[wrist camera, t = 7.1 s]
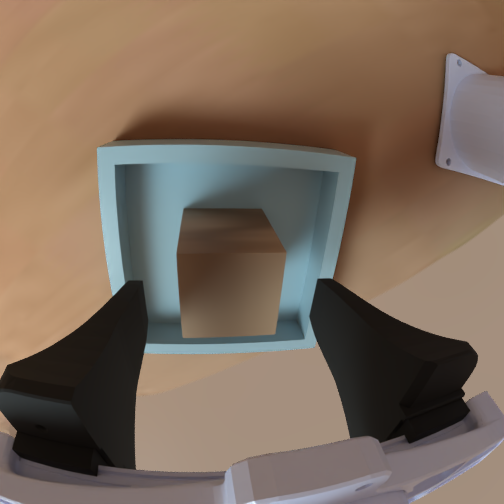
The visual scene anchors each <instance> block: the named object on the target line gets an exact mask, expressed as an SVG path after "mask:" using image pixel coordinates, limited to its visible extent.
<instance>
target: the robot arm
mask: <svg viewBox="0 0 504 504" xmlns="http://www.w3.org/2000/svg"><path fill="white" fill-rule="evenodd" d="M457 61H458V64H457ZM446 160H447V163H446ZM435 162H436V164H437V166H439V167H441V168H445V169H449V170H453V171H456V172H460V173H464V174H467V175H471V176H474V177H478V178H481V179H484V180H488V181H491V182H494V183H497V184H500V185H503V186H504V76H496V75H489V74H487V73H486V72H484V71H483V70H481V69H479V68H478V67H476V66H475V65H473V64H471V63H470V62H468V61H466V60H465V59H463V58H461V57H459V56H458V55H456V54H454V53H449V54H447V57H446V74H445V89H444V100H443V109H442V118H441V126H440V133H439V140H438V146H437V152H436V158H435ZM309 318H310V322H311V325H312V329H313V332H314V335H315V338H316V340H317V342H318V344H319V347H320V349H321V351H322V353H323V355H324V357H325V359H326V362H327V364H328V366H329V368H330V370H331V372H332V375H333V377H334V380H335V382H336V385H337V389H338V392H339V395H340V398H341V401H342V405H343V409H344V413H345V417H346V421H347V425H348V430H349V434H350V439H347V440H343V441H338V442H334V443H330V444H325V445H320V446H314V447H310V448H304V449H298V450H292V451H285V452H278V453H269V454H264V455H260V456H254V457H249V458H246V459H244V460H242V461H239V462H237V463H234V464H233V465H232V466H231V467H230V468H229V469H228V471H224V472H160V471H144V470H136V465H135V434H134V433H135V404H136V391H137V384H138V379H139V374H140V369H141V365H142V360H143V355H144V351H145V346H146V341H147V331H148V314H147V308H146V301H145V294H144V286H143V280H128V281H127V282H126V283H125V284H124V285H123V286H122V287H121V288H120V289H119V290H118V291H117V293H116V294H115V295H114V296H113V297H112V298H111V299H110V300H109V301H108V302H107V303H106V304H105V305H104V306H103V307H102V308H101V309H100V310H99V311H97V312H96V313H95V314H94V315H93V316H92V317H91V318H90V319H89V320H88V321H86V322H85V323H84V324H83V325H82V326H80V327H79V328H78V329H76V330H75V331H74V332H72V333H71V334H69V335H68V336H66V337H65V338H63V339H61V340H60V341H58V342H57V343H55V344H54V345H52V346H50V347H48V348H46V349H44V350H43V351H41V352H38V353H36V354H34V355H32V356H30V357H28V358H25V359H22V360H20V361H17V362H15V363H12V364H9V365H7V367H6V369H5V371H4V373H3V375H2V377H1V379H0V411H1V412H2V413H3V415H4V416H5V417H6V418H7V420H8V421H9V422H10V423H11V424H12V426H13V427H14V428H15V429H16V430H17V434H16V437H15V438H13V437H12V436H10V435H9V434H6V433H4V432H1V431H0V504H409V503H411V502H413V501H415V500H417V499H419V498H421V497H423V496H425V495H427V494H429V493H430V492H432V491H434V490H436V489H437V488H439V487H441V486H443V485H444V484H446V483H448V482H449V481H451V480H453V479H454V478H456V477H457V476H459V475H461V474H462V473H464V472H465V471H467V470H468V469H470V468H472V467H473V466H475V465H476V464H478V463H479V462H480V461H482V460H483V459H484V458H485V457H486V456H487V455H488V454H490V453H491V452H492V451H493V450H494V449H495V448H496V447H497V446H498V445H499V444H500V443H501V442H502V441H503V440H504V415H503V413H502V412H501V410H500V409H499V408H498V406H497V405H496V403H495V402H494V401H493V399H492V398H491V396H490V395H489V394H488V392H487V391H484V392H482V393H481V394H479V395H477V396H475V397H473V398H471V399H469V400H468V401H467V402H466V403H465V402H464V400H463V399H462V397H464V395H465V393H464V391H463V390H462V386H463V385H464V384H465V382H466V381H467V379H468V378H469V376H470V375H471V373H472V372H473V370H474V368H475V367H476V364H477V361H478V355H477V353H476V352H475V350H474V349H473V348H472V347H471V346H470V345H469V343H468V342H465V341H460V340H455V339H450V338H446V337H442V336H439V335H435V334H432V333H429V332H425V331H423V330H420V329H418V328H415V327H413V326H410V325H408V324H406V323H403V322H401V321H399V320H397V319H395V318H393V317H391V316H389V315H388V314H386V313H384V312H382V311H380V310H379V309H377V308H376V307H374V306H372V305H371V304H369V303H368V302H366V301H365V300H363V299H362V298H360V297H359V296H357V295H356V294H354V293H353V292H351V291H350V290H348V289H347V288H346V287H344V286H343V285H341V284H340V283H338V282H336V281H335V280H333V279H331V278H318V279H317V283H316V287H315V292H314V297H313V301H312V306H311V310H310V315H309Z"/></svg>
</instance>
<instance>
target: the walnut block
mask: <svg viewBox="0 0 504 504" xmlns="http://www.w3.org/2000/svg"><path fill="white" fill-rule="evenodd" d="M286 254H287V252H286V250H285V249H284V247H283V245H282V243H281V241H280V240H279V238H278V236H277V234H276V233H275V231H274V229H273V227H272V226H271V224H270V222H269V220H268V218H267V217H266V215H265V213H264V211H263V210H262V209H244V208H183V214H182V220H181V226H180V233H179V239H178V246H177V252H176V257H177V275H178V289H179V303H180V314H181V325H182V336H183V338H210V337H238V336H257V335H273V334H275V333H276V326H277V319H278V312H279V305H280V298H281V291H282V284H283V277H284V269H285V262H286Z"/></svg>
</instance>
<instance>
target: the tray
mask: <svg viewBox="0 0 504 504" xmlns="http://www.w3.org/2000/svg"><path fill="white" fill-rule="evenodd" d="M97 161H98V182H99V197H100V209H101V220H102V229H103V237H104V245H105V253H106V260H107V266H108V273H109V279H110V284H111V290H112V295H113V296H114V295H115V294H116V293H117V291H118V290H119V289H120V288H121V287H122V286H123V285H124V284H125V283H126V282H127V281H128V280H143V286H144V294H145V301H146V308H147V314H148V331H147V341H146V346H145V351H144V353H155V354H220V353H247V352H266V351H280V350H293V349H303V348H314V347H315V344H316V338H315V335H314V332H313V329H312V325H311V322H310V318H309V315H310V310H311V306H312V301H313V297H314V292H315V287H316V283H317V279H318V278H331V279H333V275H334V271H335V267H336V262H337V258H338V254H339V249H340V244H341V240H342V235H343V230H344V225H345V220H346V215H347V210H348V205H349V199H350V194H351V188H352V182H353V176H354V170H355V164H356V158H355V157H353V156H350V155H348V154H345V153H342V152H340V151H337V150H333V149H326V148H318V147H309V146H300V145H290V144H280V143H268V142H254V141H236V140H212V139H145V140H121V141H112V142H109V143H107V144H104V145H102V146H100V147H97ZM183 208H244V209H262V210H263V211H264V213H265V215H266V217H267V218H268V220H269V222H270V224H271V226H272V227H273V229H274V231H275V233H276V234H277V236H278V238H279V240H280V241H281V243H282V245H283V247H284V249H285V250H286V252H287V254H286V262H285V269H284V277H283V284H282V291H281V298H280V305H279V312H278V319H277V326H276V333H275V334H273V335H257V336H238V337H210V338H183V336H182V325H181V314H180V303H179V289H178V275H177V257H176V252H177V246H178V239H179V233H180V226H181V220H182V214H183Z"/></svg>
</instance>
